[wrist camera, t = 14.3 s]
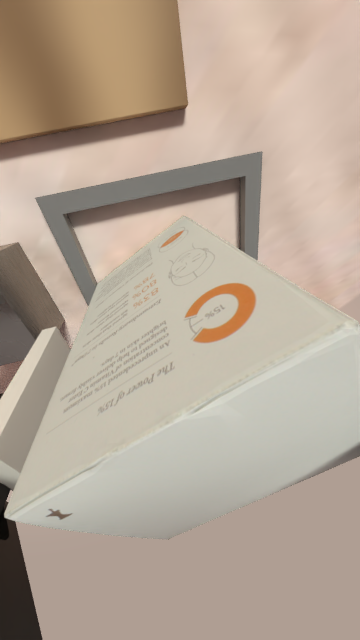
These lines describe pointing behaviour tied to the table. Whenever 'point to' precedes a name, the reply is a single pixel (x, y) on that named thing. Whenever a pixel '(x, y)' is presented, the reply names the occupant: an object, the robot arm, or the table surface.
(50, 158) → the table surface
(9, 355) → the key housing
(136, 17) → the cork pad
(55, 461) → the small box
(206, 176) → the seat rim
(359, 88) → the table surface
